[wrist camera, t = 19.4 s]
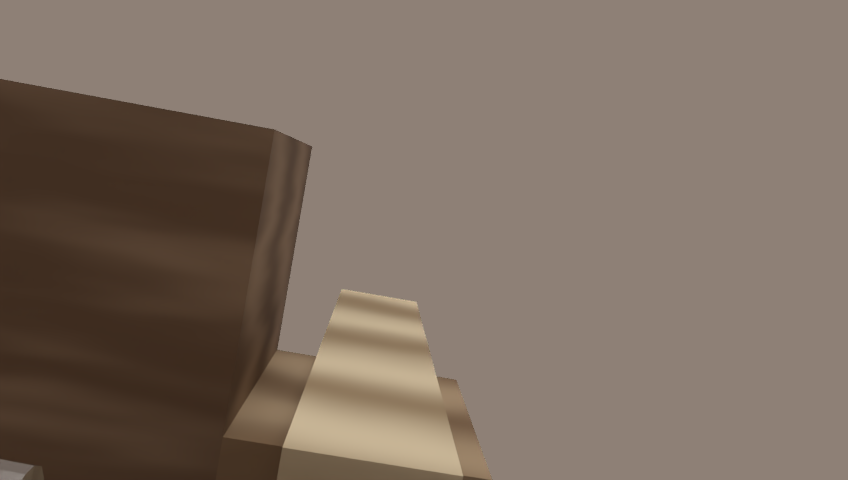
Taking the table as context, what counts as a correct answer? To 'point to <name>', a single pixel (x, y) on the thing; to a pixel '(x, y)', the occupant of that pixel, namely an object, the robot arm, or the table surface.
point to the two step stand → (151, 292)
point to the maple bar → (371, 400)
